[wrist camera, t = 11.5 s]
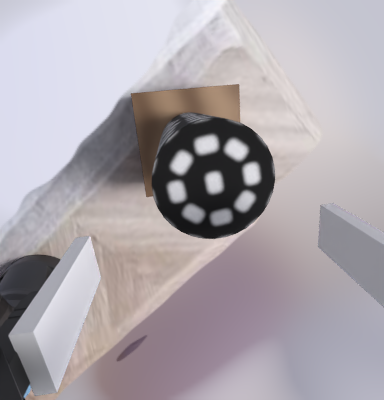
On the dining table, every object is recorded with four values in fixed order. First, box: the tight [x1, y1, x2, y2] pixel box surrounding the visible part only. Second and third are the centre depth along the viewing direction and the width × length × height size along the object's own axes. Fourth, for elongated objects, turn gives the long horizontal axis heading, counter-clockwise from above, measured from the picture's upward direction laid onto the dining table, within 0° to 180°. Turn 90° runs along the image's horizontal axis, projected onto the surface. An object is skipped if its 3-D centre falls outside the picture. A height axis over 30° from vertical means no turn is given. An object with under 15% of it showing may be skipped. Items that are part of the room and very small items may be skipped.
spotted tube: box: [151, 112, 275, 239], centre depth 27 cm, size 8×8×20 cm
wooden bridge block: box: [131, 84, 240, 197], centre depth 40 cm, size 14×14×8 cm
